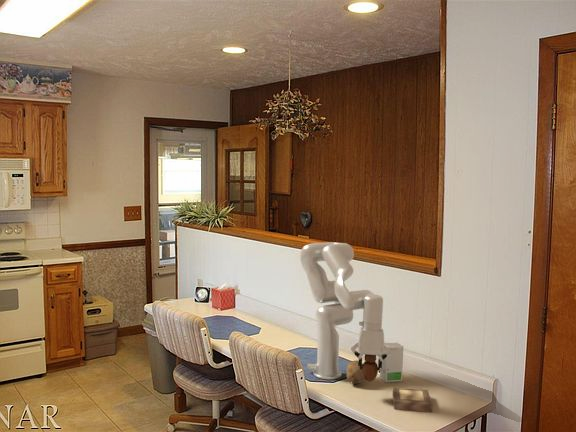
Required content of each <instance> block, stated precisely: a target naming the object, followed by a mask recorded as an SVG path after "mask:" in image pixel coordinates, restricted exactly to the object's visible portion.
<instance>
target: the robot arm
mask: <svg viewBox="0 0 576 432" xmlns="http://www.w3.org/2000/svg"><path fill="white" fill-rule="evenodd" d="M354 257H355V252H354V248H353V247H352V246H351V245H350V244H348V243H346V242H335V241H334V242H333V241H330V242H329V241H326V242H312V243H309V244H308V243H307V244H305V245H304V246H303V247H302V248H301V251H300V263H301V265H302V269H303V270H304V272H305V274H306V277H307V279H308V283H309V287H310V291H311V293H312V297H313V299H314V301H315V302H316V303H317V304H325V305H321V306H320V307H319V308H317V310H316V312H315V319H316V320H315V321H316V328H317V350H316V351H317V353H316V354H317V355H316V357H317V358H316V363H314V364H313V363H307V366H306V369H309V370H310V371H313V376H314V377H316V378H318V379H321V380H336V379H339V378H341V377H342V373H343V372H342V371H341V370H340V369H339V355H340V352H339V351H340V336H339V332H338V331H337V329H336V327H338V326H342V325H347V324H349V323H351V322H352V321H353V319H354V311H356V310H363V315H362V321H359V322H358V326H361V327H360V330H359V336H358V342H357V343H355V344H354V345H353V346H351V348H350V351H351V352H352V353H353V354H354V355H355V357H357V359H358V361H359V362H358V366H360V369H362V364H363V356H364V355H365V354H366V355H376V356H378V360H377V361H378V362H377V366H378V372H380V368H382V361H383V360H384V359H385V358H386V357H387V356H388V355H389V354H390V353H391V351H390V350H389V349H388V348H387V347H386V346H385V345H384V343H385V335H384V334H385V333H384V329H383V328H382V327H383V309H384V308H383V307H384V298H383V296H381V295H379V294H375V293H374V292H372V291H371V290H369V289H362V290H352V291H349V289H348V288H347V286H346V284H345V282H346V281H347V280H348V279H350V277H351V276H352V275H353V274H354V268H353V266H352V264H351V263H350V262H351V261H353V259H354ZM318 262H325V263H326V264H327V266H328V268H329V270H330V271H331V273H332V275H333V277H334V278H335V280H329V278H328V277H327V272H326V271H325V269H324V267H322V266H321V264H319V263H318ZM326 303H327V304H326ZM328 303H332V304H328ZM384 350H385V351H386V353H385V354H383V353H384Z"/></svg>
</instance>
